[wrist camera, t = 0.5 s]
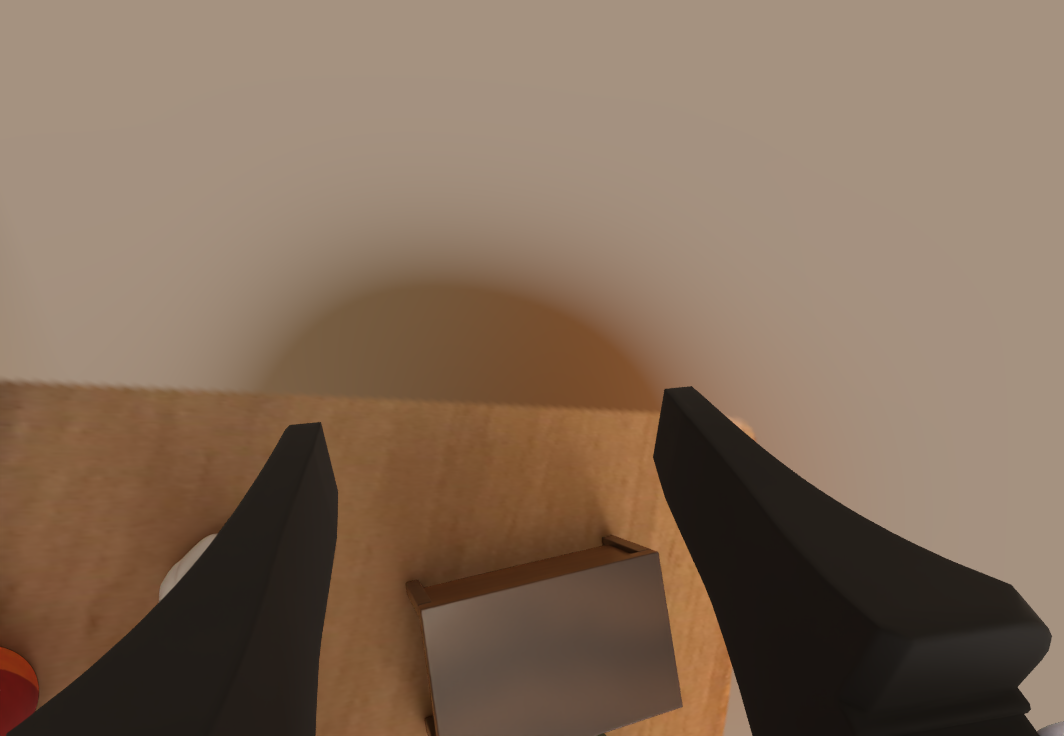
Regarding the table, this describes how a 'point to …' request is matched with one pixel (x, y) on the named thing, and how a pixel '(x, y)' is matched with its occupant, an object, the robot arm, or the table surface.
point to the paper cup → (16, 690)
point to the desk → (550, 645)
